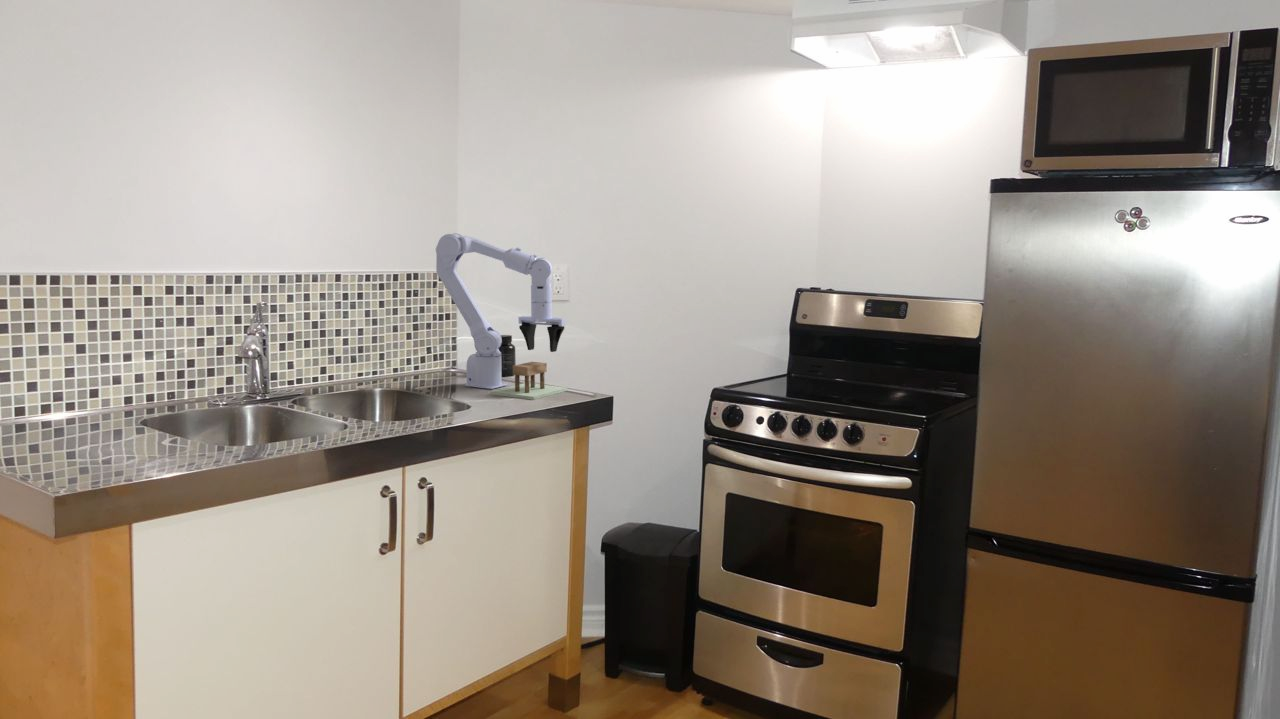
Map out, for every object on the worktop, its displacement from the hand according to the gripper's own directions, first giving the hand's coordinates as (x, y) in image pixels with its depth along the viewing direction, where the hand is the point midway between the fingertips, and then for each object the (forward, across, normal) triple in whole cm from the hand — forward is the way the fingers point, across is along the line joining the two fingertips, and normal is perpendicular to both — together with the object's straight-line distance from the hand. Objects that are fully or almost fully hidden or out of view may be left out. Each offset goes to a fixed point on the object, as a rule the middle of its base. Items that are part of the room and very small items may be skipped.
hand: (542, 350), depth 270 cm
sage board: (+10, +2, -9) cm, 14 cm away
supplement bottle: (+10, -21, +11) cm, 26 cm away
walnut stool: (+10, +2, -9) cm, 13 cm away
